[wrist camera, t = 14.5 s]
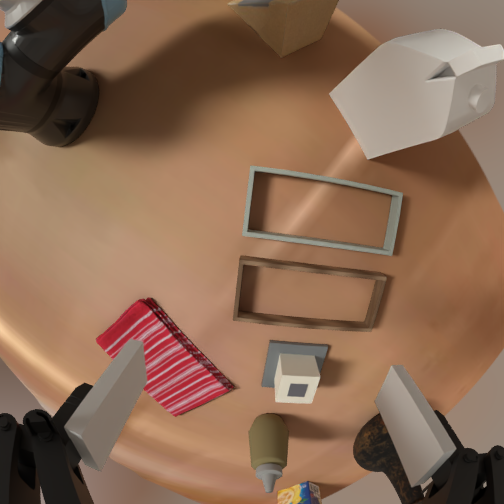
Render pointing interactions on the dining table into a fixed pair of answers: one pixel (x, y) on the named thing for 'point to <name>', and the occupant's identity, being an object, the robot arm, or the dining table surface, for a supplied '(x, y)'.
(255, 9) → the sandwich container
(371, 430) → the glass bottle
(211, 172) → the dining table surface
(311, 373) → the cream cube
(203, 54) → the dining table surface
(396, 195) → the grey frame
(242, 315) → the walnut frame
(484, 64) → the milk
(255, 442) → the squeeze bottle
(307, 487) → the beverage box
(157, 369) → the dish towel
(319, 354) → the slate tile
